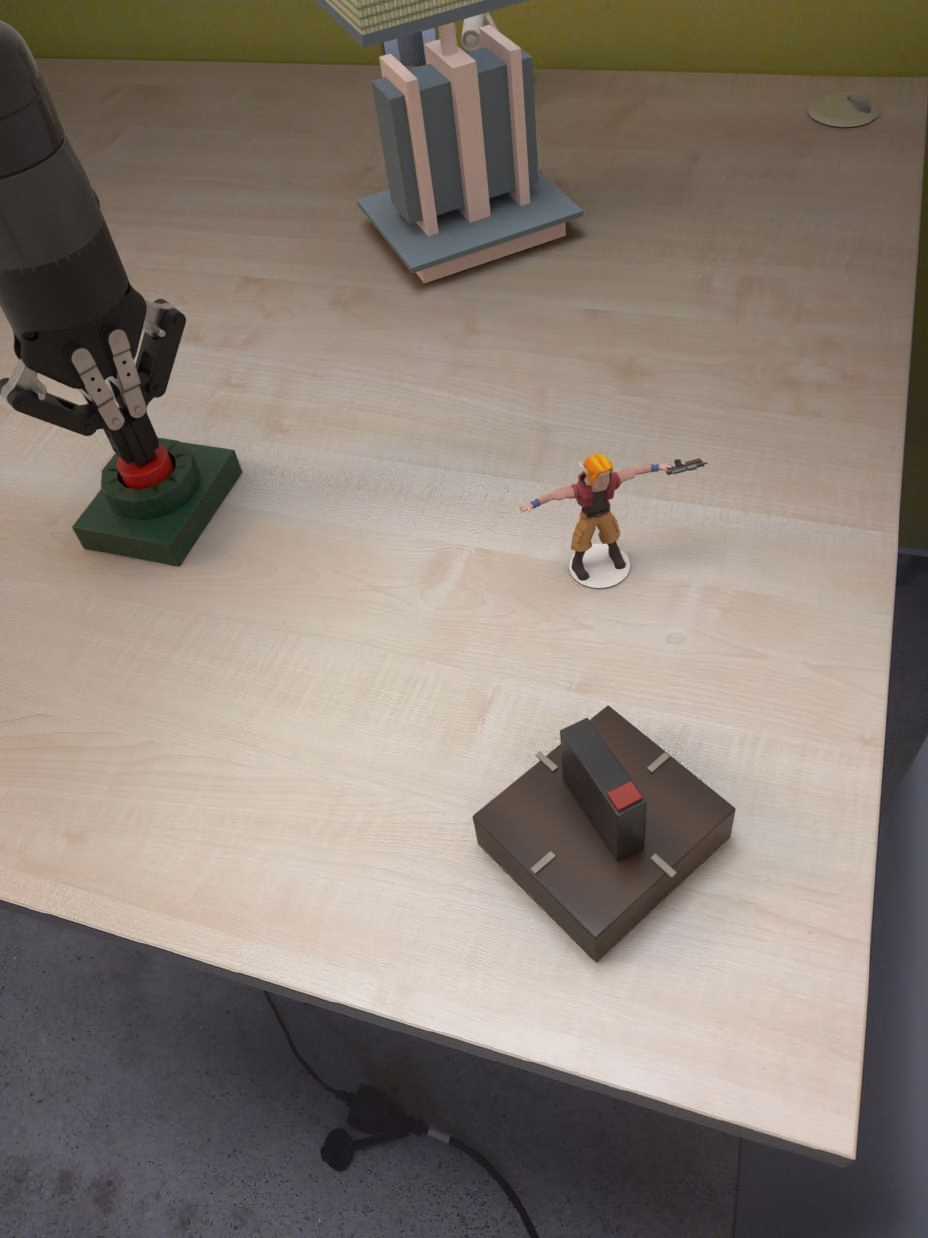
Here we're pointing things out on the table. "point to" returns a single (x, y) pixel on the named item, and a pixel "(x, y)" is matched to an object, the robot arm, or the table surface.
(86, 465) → the table surface
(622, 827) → the knob
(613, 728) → the panel
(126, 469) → the button
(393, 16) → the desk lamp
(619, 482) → the action figure
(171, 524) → the button box
